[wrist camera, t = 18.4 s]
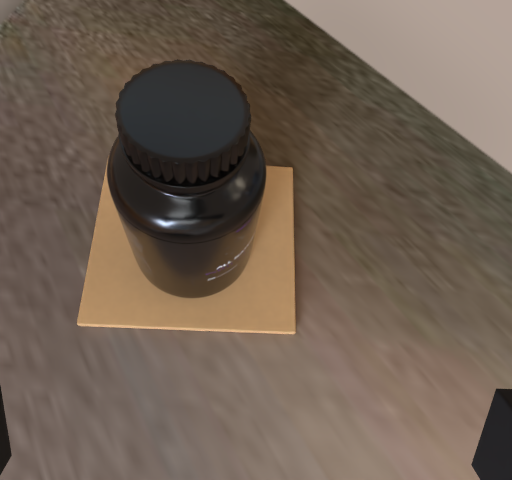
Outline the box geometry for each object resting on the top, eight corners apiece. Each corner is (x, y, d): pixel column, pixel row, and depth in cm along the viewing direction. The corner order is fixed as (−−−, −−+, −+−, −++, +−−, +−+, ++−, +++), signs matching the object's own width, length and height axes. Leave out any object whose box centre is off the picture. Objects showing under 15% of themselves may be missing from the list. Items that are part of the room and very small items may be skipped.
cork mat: (291, 171, 30) (293, 167, 29) (294, 334, 25) (295, 332, 25) (110, 159, 29) (108, 154, 28) (78, 326, 24) (76, 324, 24)
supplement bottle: (246, 307, 25) (272, 205, 14) (125, 295, 25) (56, 181, 14) (255, 202, 28) (283, 50, 17) (147, 190, 28) (104, 27, 17)
